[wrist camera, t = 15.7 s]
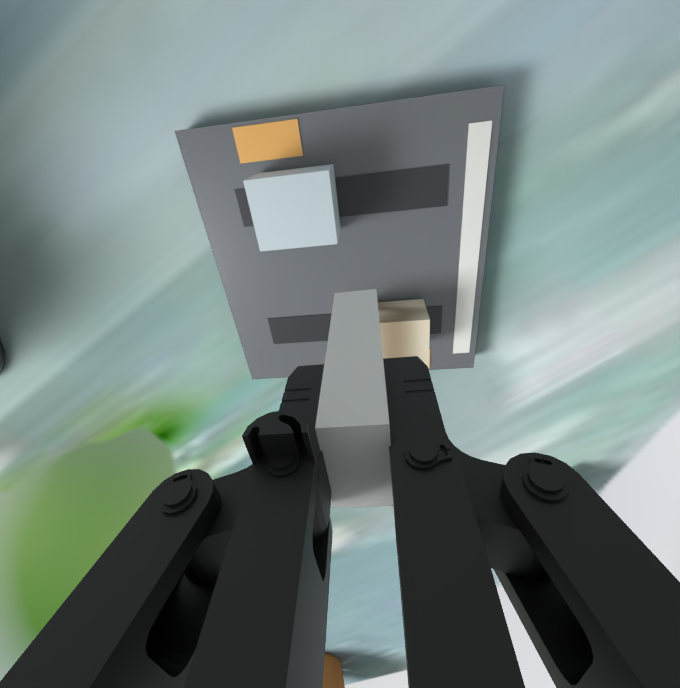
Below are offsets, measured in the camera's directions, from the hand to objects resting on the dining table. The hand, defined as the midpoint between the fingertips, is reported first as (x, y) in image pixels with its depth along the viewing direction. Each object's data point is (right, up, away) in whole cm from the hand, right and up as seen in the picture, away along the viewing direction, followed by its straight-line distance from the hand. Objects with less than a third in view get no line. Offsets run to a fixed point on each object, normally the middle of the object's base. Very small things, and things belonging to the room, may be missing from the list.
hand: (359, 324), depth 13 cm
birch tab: (+4, +1, +21) cm, 21 cm away
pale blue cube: (-4, +11, +15) cm, 19 cm away
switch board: (0, +7, +20) cm, 21 cm away
